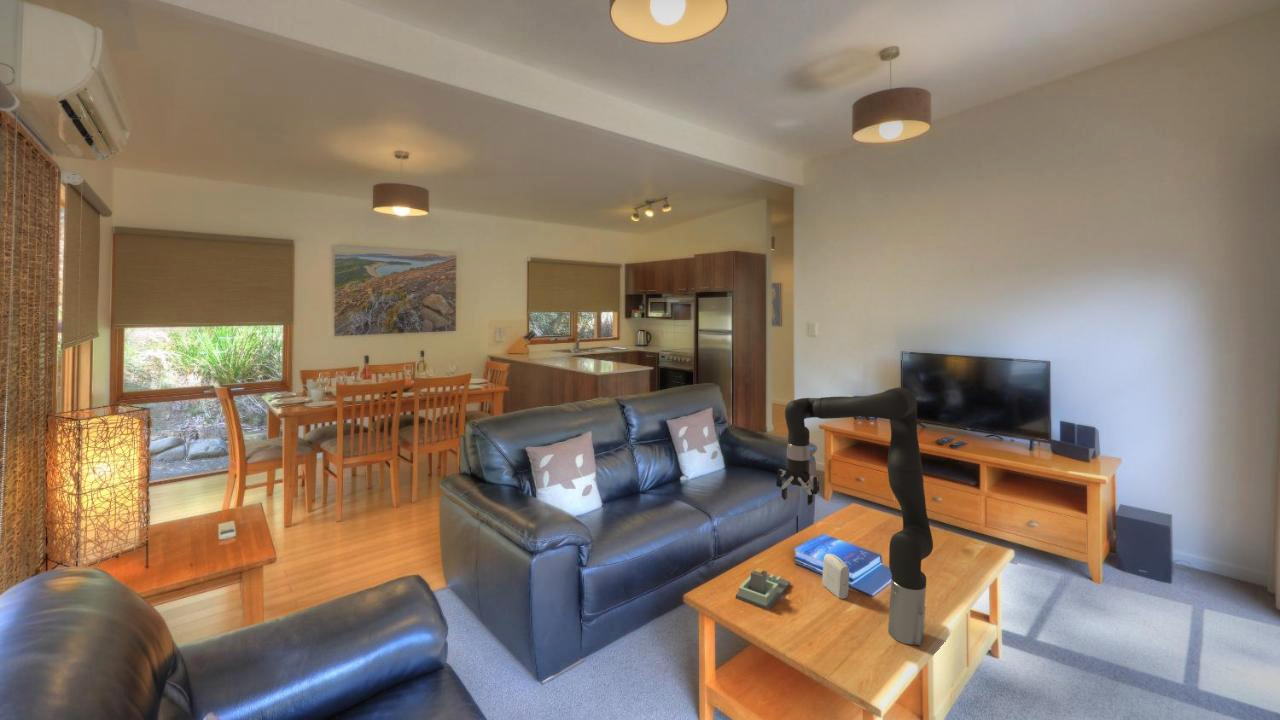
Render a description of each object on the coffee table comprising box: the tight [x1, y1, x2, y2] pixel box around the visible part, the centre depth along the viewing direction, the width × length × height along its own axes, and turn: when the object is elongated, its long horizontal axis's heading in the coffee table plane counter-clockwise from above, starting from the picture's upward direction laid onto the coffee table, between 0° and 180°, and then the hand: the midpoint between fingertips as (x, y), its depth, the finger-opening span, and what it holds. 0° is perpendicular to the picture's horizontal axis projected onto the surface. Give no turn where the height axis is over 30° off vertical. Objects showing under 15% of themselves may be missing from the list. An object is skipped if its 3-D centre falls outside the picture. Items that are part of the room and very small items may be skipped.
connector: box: [750, 567, 768, 595], centre depth 174 cm, size 4×4×9 cm
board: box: [735, 573, 791, 611], centre depth 178 cm, size 12×19×4 cm, turn 144°
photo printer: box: [821, 553, 850, 600], centre depth 178 cm, size 10×4×12 cm, turn 17°
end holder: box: [738, 574, 778, 606], centre depth 175 cm, size 10×10×3 cm
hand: (797, 501), depth 178 cm, fingers open, 8 cm apart
